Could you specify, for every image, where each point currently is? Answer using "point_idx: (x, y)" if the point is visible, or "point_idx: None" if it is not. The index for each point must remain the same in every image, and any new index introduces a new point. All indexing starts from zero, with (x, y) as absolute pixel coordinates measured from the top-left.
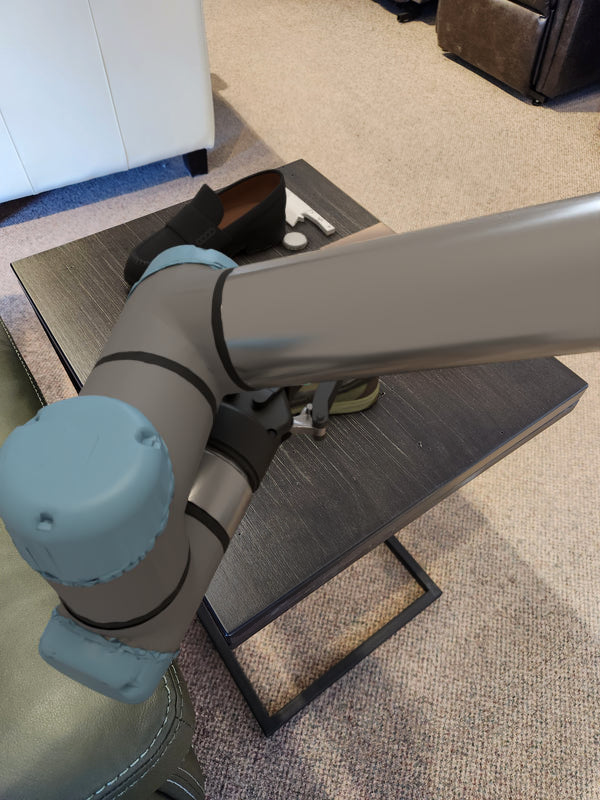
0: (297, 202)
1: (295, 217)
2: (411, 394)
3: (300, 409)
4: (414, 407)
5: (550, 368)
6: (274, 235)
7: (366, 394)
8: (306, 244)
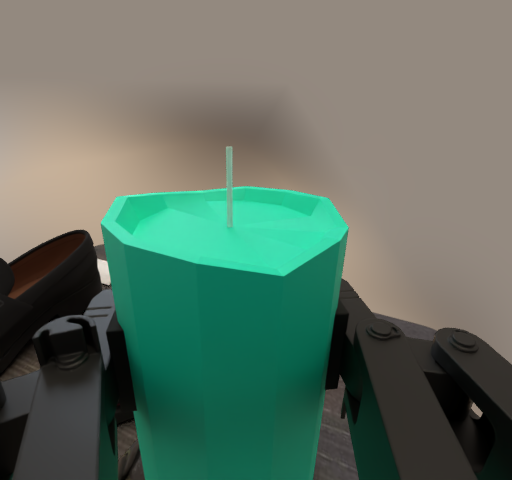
0: (107, 265)
1: (109, 276)
2: (330, 413)
3: None
4: (347, 430)
5: (412, 326)
6: (90, 294)
7: None
8: None
